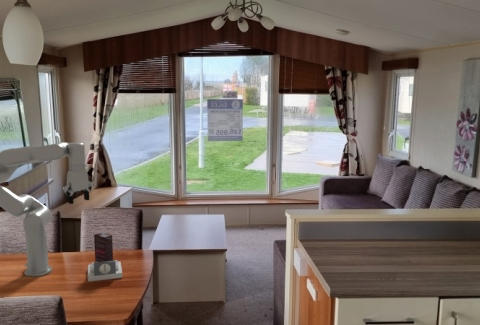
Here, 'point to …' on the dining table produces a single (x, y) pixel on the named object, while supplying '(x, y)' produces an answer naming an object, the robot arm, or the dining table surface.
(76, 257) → the dining table surface
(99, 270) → the scale base
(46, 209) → the robot arm
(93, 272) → the pan
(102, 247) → the supplement box
